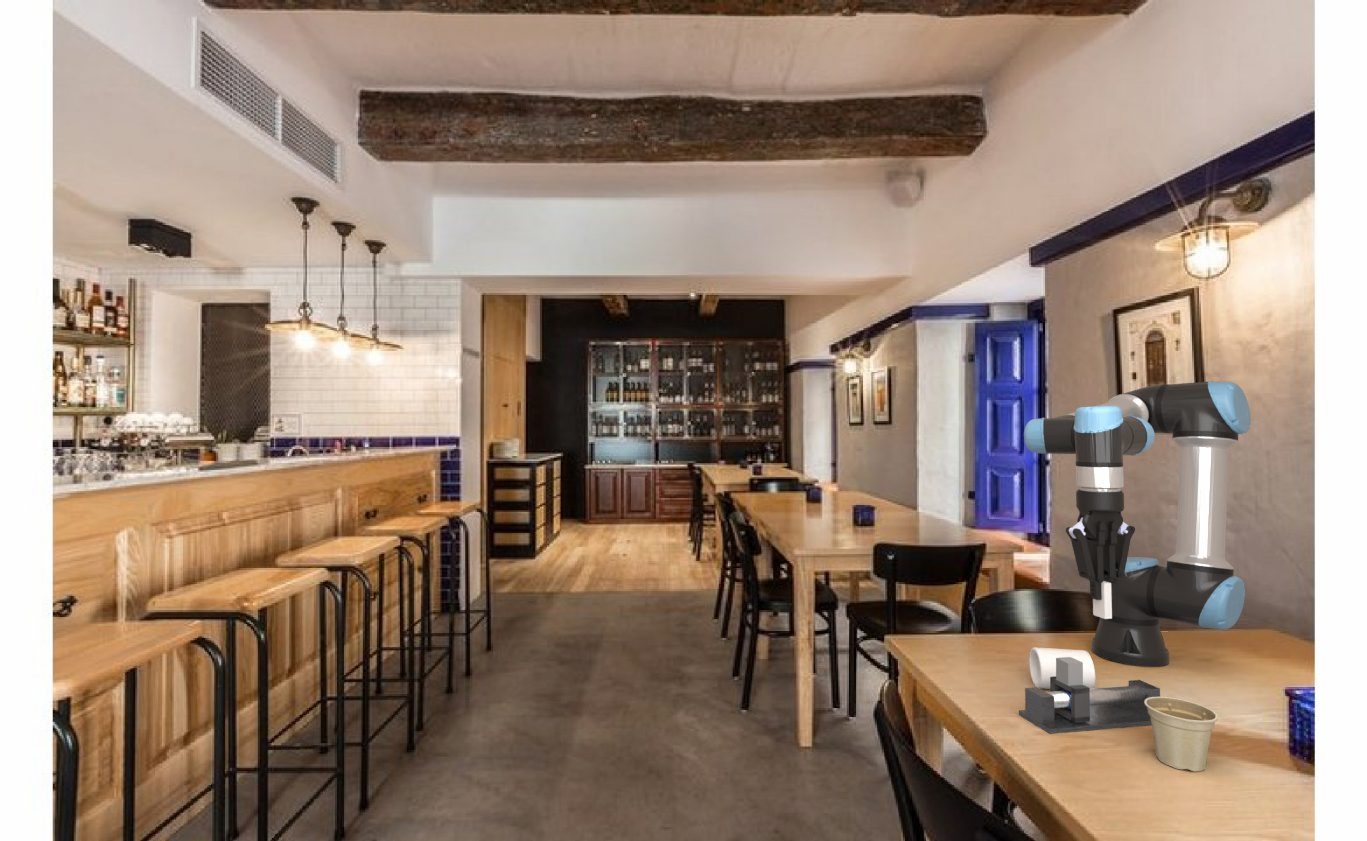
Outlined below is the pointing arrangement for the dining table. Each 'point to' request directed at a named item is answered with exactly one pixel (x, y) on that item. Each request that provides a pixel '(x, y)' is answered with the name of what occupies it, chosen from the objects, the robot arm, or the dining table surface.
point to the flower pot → (1181, 731)
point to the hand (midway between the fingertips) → (1102, 616)
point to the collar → (1072, 689)
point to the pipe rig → (1091, 708)
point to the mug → (1045, 665)
